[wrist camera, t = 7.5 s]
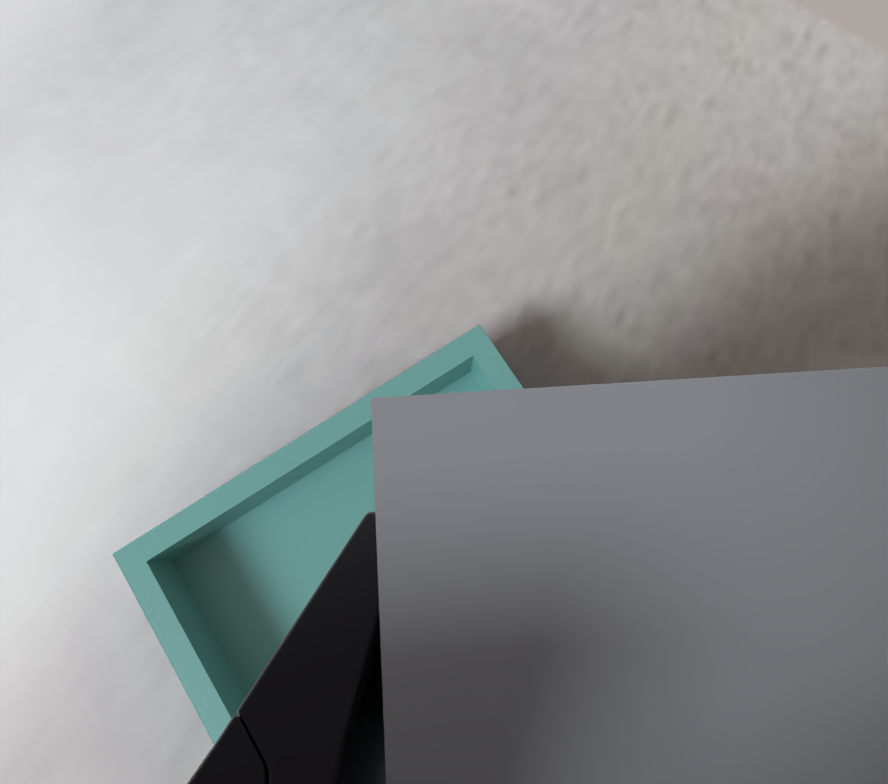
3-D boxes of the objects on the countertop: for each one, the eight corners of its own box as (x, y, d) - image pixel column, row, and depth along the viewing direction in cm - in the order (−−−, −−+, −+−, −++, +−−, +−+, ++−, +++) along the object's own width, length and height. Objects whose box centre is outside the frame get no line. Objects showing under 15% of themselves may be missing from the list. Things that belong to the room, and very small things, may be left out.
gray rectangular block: (645, 695, 16) (1048, 995, 5) (428, 709, 16) (394, 1041, 5) (619, 477, 17) (911, 362, 6) (416, 490, 17) (367, 395, 6)
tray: (694, 672, 22) (733, 693, 19) (355, 917, 20) (340, 981, 17) (475, 351, 24) (479, 324, 21) (155, 552, 22) (112, 553, 20)
